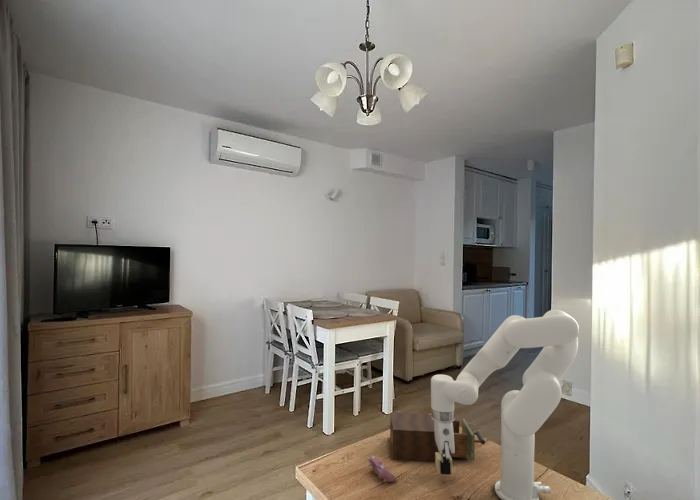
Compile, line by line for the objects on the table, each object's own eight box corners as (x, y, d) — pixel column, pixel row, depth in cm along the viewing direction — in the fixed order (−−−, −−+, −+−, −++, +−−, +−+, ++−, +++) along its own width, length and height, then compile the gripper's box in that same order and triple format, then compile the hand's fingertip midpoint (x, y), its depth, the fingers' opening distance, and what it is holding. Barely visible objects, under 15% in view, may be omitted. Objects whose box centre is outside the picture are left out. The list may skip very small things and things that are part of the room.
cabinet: (431, 441, 146) (432, 414, 146) (438, 461, 132) (439, 431, 132) (390, 439, 147) (390, 412, 147) (392, 459, 132) (393, 429, 133)
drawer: (476, 442, 145) (477, 419, 145) (487, 460, 131) (488, 436, 131) (425, 439, 146) (425, 417, 146) (430, 457, 132) (431, 433, 132)
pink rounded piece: (371, 473, 126) (363, 456, 125) (381, 464, 128) (374, 448, 127) (386, 489, 117) (377, 472, 116) (397, 480, 119) (389, 463, 118)
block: (449, 466, 124) (449, 452, 124) (452, 474, 119) (452, 459, 119) (435, 465, 124) (435, 452, 124) (438, 473, 119) (437, 459, 120)
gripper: (460, 425, 114) (461, 485, 113) (448, 403, 130) (449, 456, 130) (436, 424, 114) (437, 484, 113) (427, 403, 131) (428, 455, 130)
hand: (443, 468), depth 122 cm, fingers closed on block, 4 cm apart
